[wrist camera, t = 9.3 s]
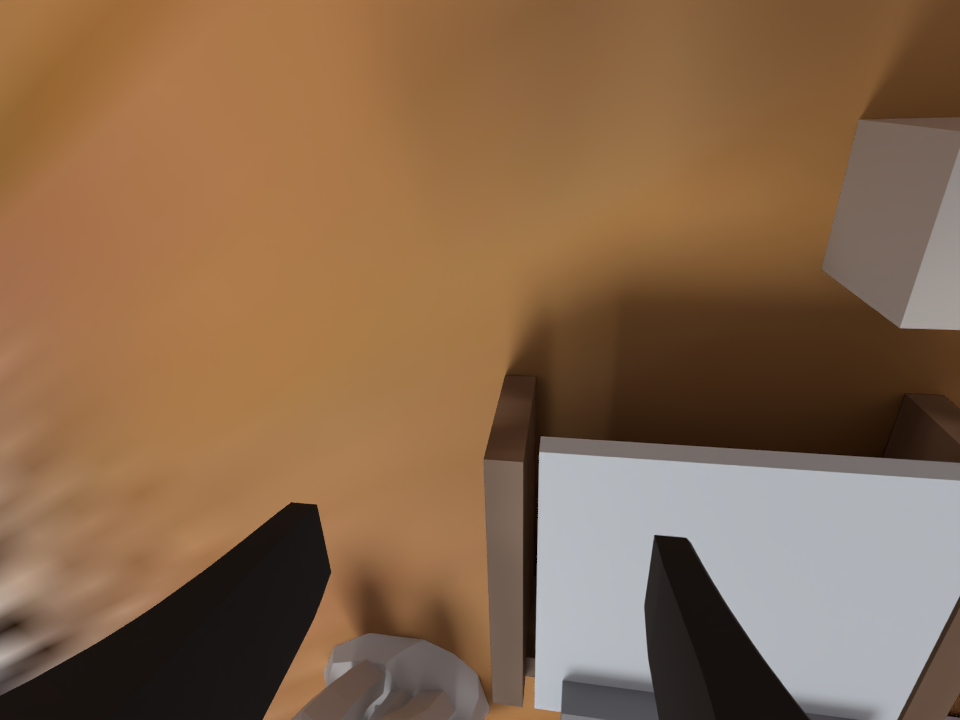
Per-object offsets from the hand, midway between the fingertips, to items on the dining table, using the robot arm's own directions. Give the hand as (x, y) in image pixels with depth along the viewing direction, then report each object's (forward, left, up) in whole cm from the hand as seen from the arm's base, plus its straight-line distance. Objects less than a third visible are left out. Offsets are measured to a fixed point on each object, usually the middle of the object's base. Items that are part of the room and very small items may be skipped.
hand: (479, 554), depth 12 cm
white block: (-12, -5, -10) cm, 17 cm away
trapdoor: (-7, +7, -5) cm, 11 cm away
